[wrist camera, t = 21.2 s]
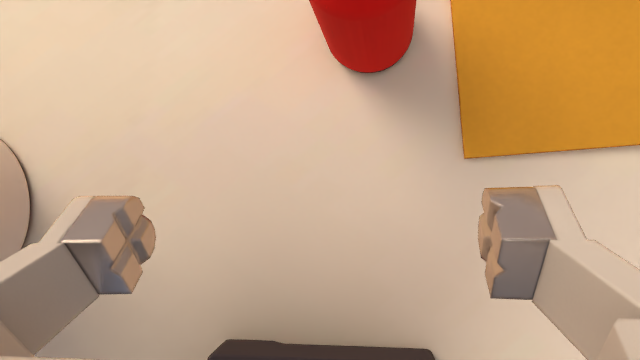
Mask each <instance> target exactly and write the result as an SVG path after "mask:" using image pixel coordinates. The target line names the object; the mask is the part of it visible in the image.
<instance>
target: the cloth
mask: <svg viewBox="0 0 640 360" xmlns="http://www.w3.org/2000/svg"><path fill="white" fill-rule="evenodd" d="M451 11H452V22H453V34H454V45H455V57H456V68H457V80H458V92H459V103H460V115H461V126H462V138H463V149H464V158H465V159H466V158H479V157H492V156H504V155H517V154H530V153H542V152H555V151H568V150H580V149H593V148H606V147H618V146H631V145H640V0H451Z"/></svg>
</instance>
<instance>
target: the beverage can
mask: <svg viewBox="0 0 640 360" xmlns="http://www.w3.org/2000/svg"><path fill="white" fill-rule="evenodd" d="M309 1H310V3H311V6H312V8H313V11H314V13H315V15H316V18H317V20H318V23H319V25H320V27H321V30H322V32H323V35H324V37H325V39H326V42H327V44H328V47H329V49H330V51H331V53H332V54H333V56H334V57H335V58H336V59H337V60H338V61H339V62H340V63H341V64H343V65H344V66H346V67H347V68H349V69H352V70H354V71H358V72H362V73H374V72H379V71H382V70H385V69H387V68H389V67H391V66H392V65H394V64H395V63H396V62H397V61H398V60H399V59H400V58H401V57H402V56H403V55H404V53H405V52H406V50H407V49H408V47H409V45H410V42H411V39H412V35H413V27H414V18H415V8H416V0H309Z"/></svg>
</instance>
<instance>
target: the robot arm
mask: <svg viewBox="0 0 640 360" xmlns="http://www.w3.org/2000/svg"><path fill="white" fill-rule="evenodd" d="M481 202H482V206H483V210H484V213H483V214H482V215H481V216H480V217H479V224H478V242H479V249H480V254H481V258H482V259H483V260H485V261H486V262H487V263H486V269H485V276H486V281H487V285H488V289H489V293H490V298H497V299H524V300H532V302H533V303H534V304H535V305H536V306H537V307H538V308H539V309H540V310H541V311H542V313H543V314H544V315H545V316H546V317H547V318H548V319H549V320H550V321H551V322H552V323H553V324H554V325H555V326H556V327H557V328H558V329H559V330H560V331H561V332H562V334H563V335H564V336H565V337H566V338H567V339H568V340H569V341H570V342H571V343H572V344H573V345H574V346H575V347H576V348H577V349H578V350H579V351H580V352H581V353H582V355H583V356H584V357H585V358H586V359H587V360H640V270H639V269H638V268H636V267H635V266H633V265H632V264H630V263H629V262H627V261H626V260H624V259H623V258H621V257H620V256H618V255H617V254H615V253H614V252H612V251H611V250H609V249H608V248H606V247H605V246H603V245H602V244H600V243H599V242H597V241H596V240H587V238H586V236H585V234H584V232H583V230H582V228H581V226H580V224H579V222H578V220H577V218H576V216H575V214H574V212H573V210H572V208H571V206H570V204H569V202H568V200H567V198H566V196H565V194H564V192H563V190H562V188H561V187H560V186H558V185H553V186H533V187H508V188H485V189H484V191H483V195H482V201H481ZM144 209H145V207H144V206H143V204H142V202H141V200H140V198H138V197H135V196H78V197H76V198H74V199H72V200H71V202H70V203H69V204H68V206H67V207H66V208H65V209H64V211H63V212H62V213H61V214H60V216H59V217H58V218H57V220H56V221H55V222H54V223H53V225H52V226H51V227H50V228H49V230H48V231H47V232H46V233H45V235H44V236H43V237H42V239H41V240H40V241H39V242H38V243H32V244H30V245H28V246H27V247H25V248H23V249H22V250H21V248H22V246H23V243H24V240H25V237H26V233H27V229H28V224H29V215H30V200H29V191H28V186H27V182H26V178H25V175H24V173H23V170H22V168H21V166H20V164H19V162H18V160H17V158H16V157H15V155H14V154H13V152H12V151H11V150H10V149H9V147H8V146H7V145H6V144H5V143H4V142H3V141H1V140H0V360H99V359H71V358H44V357H35V356H34V354H36V353H37V352H38V351H39V350H40V349H41V348H42V347H43V346H44V345H46V344H47V343H48V342H49V341H50V340H51V339H52V338H53V337H54V336H56V335H57V334H58V333H59V332H60V331H61V330H62V329H63V328H64V327H66V326H67V325H68V324H69V323H70V322H71V321H72V320H73V319H74V318H76V317H77V316H78V315H79V314H80V313H81V312H82V311H83V310H84V309H86V308H87V307H88V306H89V305H90V304H91V303H92V302H93V301H94V300H96V299H97V298H98V297H99V294H132V292H133V290H134V288H135V286H136V284H137V282H138V280H139V278H140V277H141V275H142V273H143V271H142V268H141V264H142V263H144V262H145V261H146V260H148V259H149V258H150V257H151V255H152V253H153V250H154V248H155V241H156V234H155V229H154V226H153V224H152V222H151V221H150V220H149V219H148V218H146V217H145V216H143V215H142V214H143V211H144Z"/></svg>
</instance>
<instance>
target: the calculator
mask: <svg viewBox="0 0 640 360" xmlns="http://www.w3.org/2000/svg"><path fill="white" fill-rule="evenodd" d="M207 360H435V358H434V356H433V354H432V352H431V351H430V350H428V349H414V348H386V347H358V346H330V345H302V344H283V343H279V342H275V341H261V340H232V339H230V340H226V341H225V342H223V343H222V344H221V345H220V346H219V347H218V348H217V349H216V350H215V351H214V352H213V353H212V354H211V355H210V356H209V357H208V359H207Z"/></svg>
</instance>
